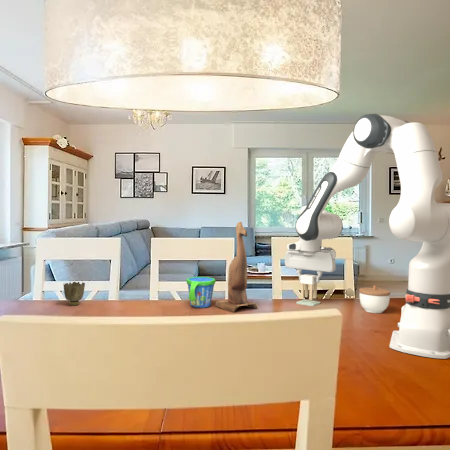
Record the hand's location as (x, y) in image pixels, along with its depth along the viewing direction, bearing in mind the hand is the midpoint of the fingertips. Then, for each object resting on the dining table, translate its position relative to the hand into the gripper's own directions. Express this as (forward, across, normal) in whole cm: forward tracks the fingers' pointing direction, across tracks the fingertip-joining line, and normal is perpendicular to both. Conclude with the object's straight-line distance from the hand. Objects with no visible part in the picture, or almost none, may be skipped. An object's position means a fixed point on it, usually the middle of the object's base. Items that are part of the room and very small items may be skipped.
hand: (309, 281), depth 166 cm
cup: (+9, +65, +60) cm, 89 cm away
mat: (+9, 0, 0) cm, 9 cm away
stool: (+7, 0, 0) cm, 7 cm away
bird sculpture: (+9, +17, +25) cm, 31 cm away
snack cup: (+9, +29, +31) cm, 43 cm away
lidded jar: (+9, -24, -4) cm, 26 cm away
